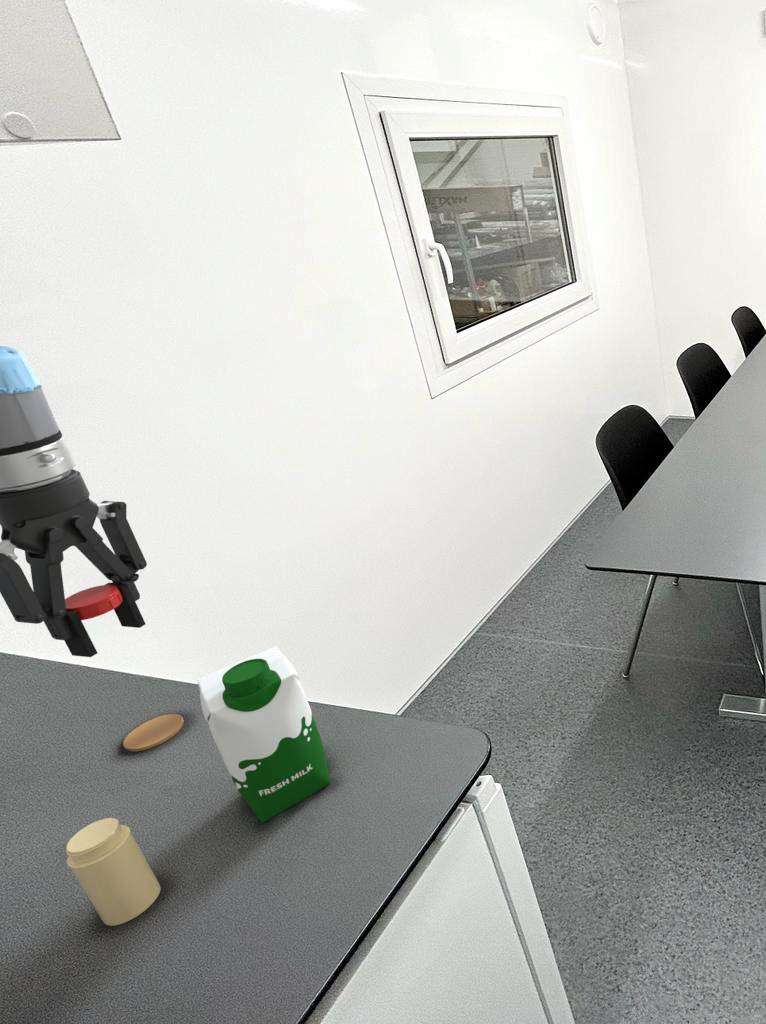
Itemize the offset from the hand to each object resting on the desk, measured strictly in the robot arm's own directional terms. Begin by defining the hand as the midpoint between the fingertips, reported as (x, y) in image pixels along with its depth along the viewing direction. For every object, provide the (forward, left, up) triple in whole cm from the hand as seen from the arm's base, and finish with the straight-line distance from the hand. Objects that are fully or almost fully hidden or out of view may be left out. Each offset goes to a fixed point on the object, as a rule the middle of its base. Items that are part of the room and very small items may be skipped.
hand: (110, 639), depth 81 cm
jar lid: (0, 0, +6) cm, 6 cm away
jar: (+17, -23, -16) cm, 33 cm away
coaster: (0, 0, -16) cm, 16 cm away
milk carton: (+24, -10, -17) cm, 31 cm away
